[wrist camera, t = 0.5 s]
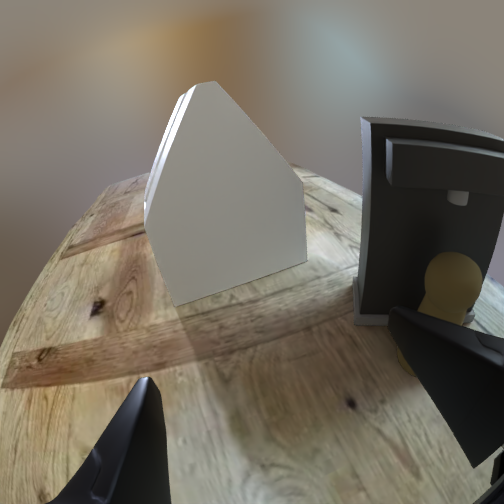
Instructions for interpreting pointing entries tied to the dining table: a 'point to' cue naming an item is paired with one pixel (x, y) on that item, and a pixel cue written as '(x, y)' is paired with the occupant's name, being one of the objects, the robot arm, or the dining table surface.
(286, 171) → the white house shaped block
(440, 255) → the cork
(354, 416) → the dining table surface
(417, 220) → the coffee maker
